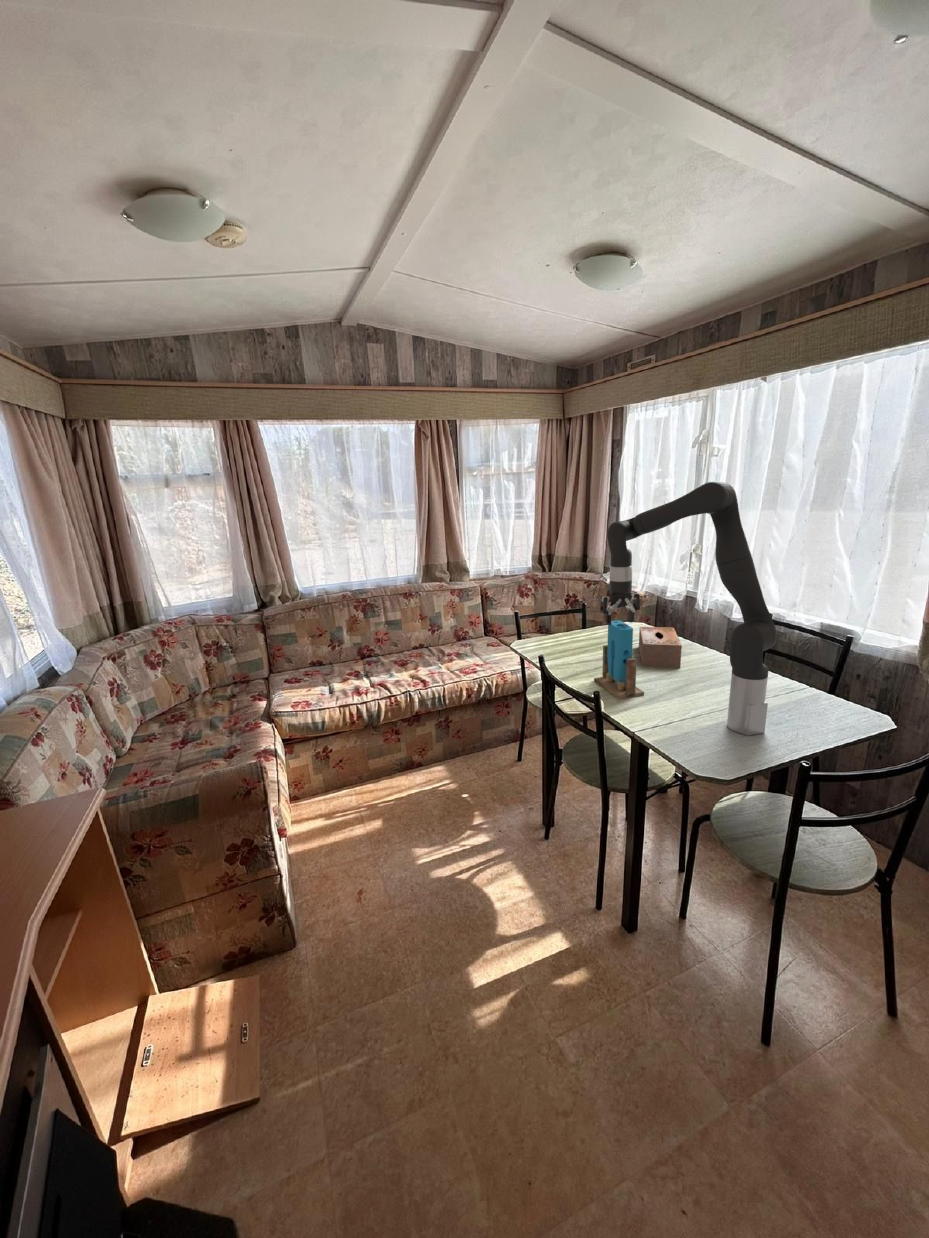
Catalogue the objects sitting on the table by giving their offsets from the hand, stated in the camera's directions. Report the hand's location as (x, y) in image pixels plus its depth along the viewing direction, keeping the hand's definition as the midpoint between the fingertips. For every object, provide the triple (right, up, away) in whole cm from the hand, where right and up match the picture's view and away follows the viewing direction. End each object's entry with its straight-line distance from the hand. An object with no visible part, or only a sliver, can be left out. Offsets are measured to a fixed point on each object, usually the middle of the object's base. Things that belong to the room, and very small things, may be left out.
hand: (619, 623), depth 176 cm
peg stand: (+1, -24, +6) cm, 25 cm away
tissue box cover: (+28, -15, +36) cm, 48 cm away
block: (+1, -20, +5) cm, 21 cm away
